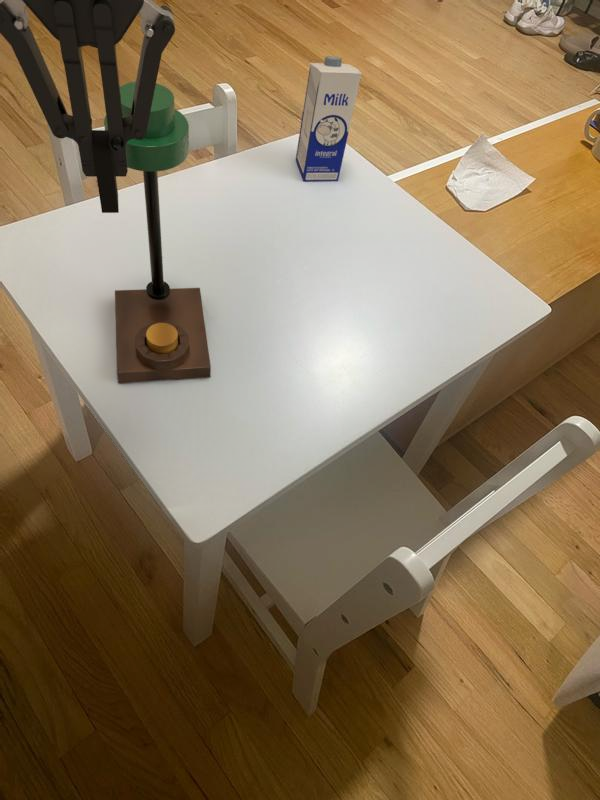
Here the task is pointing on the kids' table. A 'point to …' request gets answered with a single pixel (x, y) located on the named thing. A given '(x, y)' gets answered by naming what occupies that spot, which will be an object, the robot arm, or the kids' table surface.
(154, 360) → the lamp base
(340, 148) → the milk carton
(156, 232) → the lamp
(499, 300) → the kids' table surface
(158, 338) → the lamp switch
